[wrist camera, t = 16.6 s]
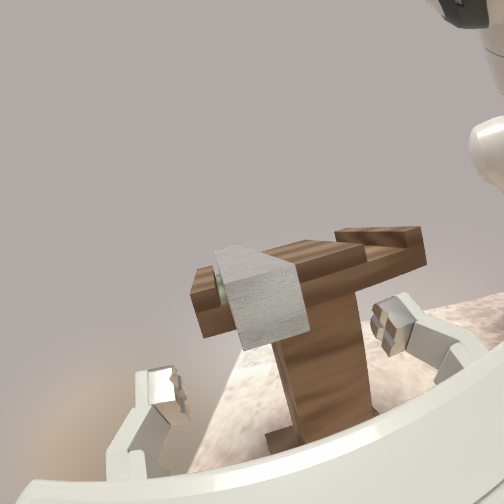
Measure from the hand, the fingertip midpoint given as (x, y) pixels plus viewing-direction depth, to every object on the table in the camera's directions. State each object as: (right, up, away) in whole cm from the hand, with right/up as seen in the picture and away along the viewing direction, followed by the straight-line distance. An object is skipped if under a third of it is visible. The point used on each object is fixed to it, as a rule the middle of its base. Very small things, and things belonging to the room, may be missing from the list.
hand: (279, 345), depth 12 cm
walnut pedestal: (+10, -23, +22) cm, 33 cm away
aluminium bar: (-2, +1, +14) cm, 14 cm away
